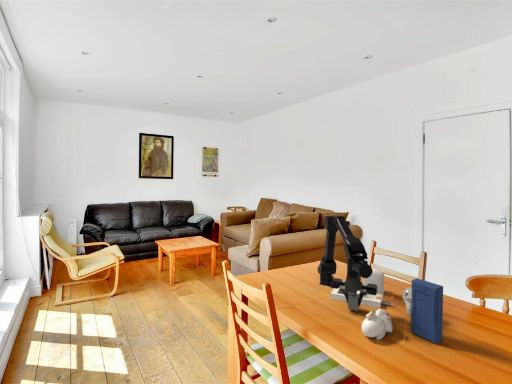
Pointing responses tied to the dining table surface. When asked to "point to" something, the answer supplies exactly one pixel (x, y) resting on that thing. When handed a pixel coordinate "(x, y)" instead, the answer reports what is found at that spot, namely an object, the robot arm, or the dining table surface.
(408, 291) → the light bulb
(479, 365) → the dining table surface
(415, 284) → the electronic device
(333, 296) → the strip
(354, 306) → the plug
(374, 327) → the cat figurine
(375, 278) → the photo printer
